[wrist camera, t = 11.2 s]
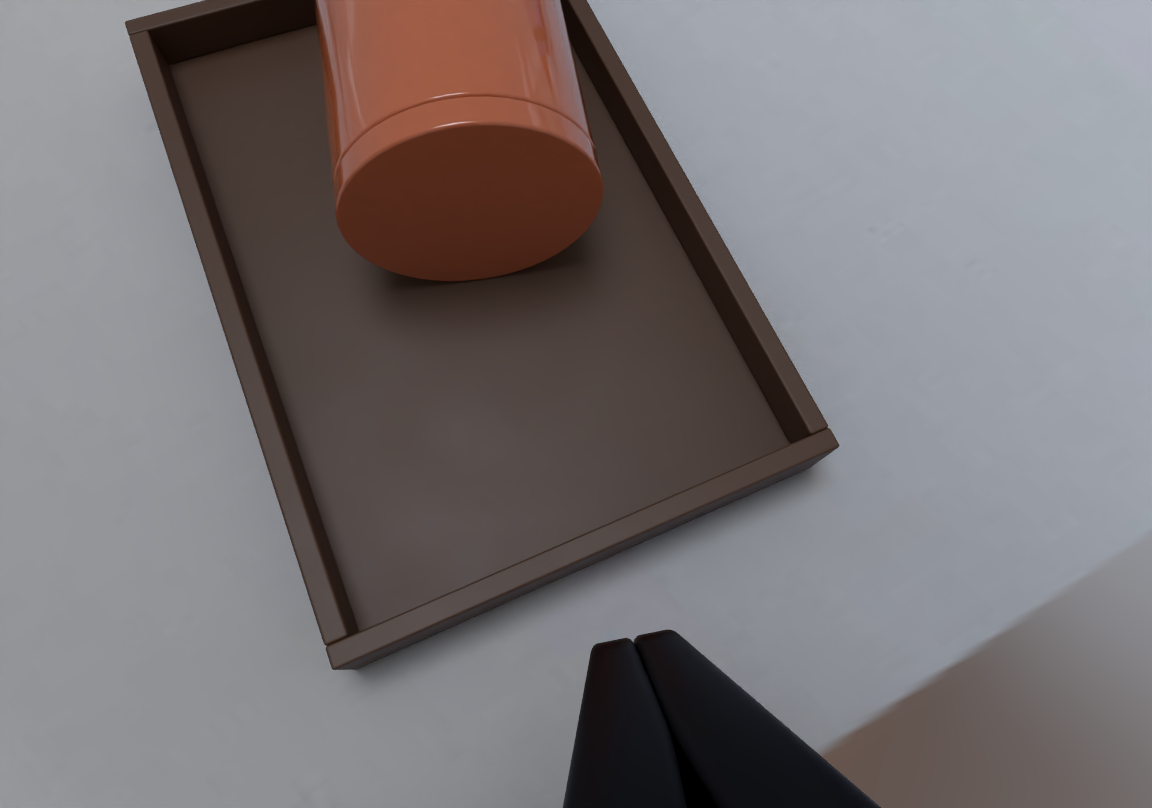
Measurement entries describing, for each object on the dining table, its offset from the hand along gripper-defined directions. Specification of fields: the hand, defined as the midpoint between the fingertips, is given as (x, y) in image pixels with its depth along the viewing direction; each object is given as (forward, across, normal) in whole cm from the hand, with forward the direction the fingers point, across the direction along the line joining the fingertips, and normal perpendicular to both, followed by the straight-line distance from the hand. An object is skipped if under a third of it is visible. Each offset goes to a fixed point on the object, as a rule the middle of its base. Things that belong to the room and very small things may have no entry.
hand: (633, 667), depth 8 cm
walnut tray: (+18, +1, 0) cm, 19 cm away
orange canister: (+14, +1, -2) cm, 15 cm away
